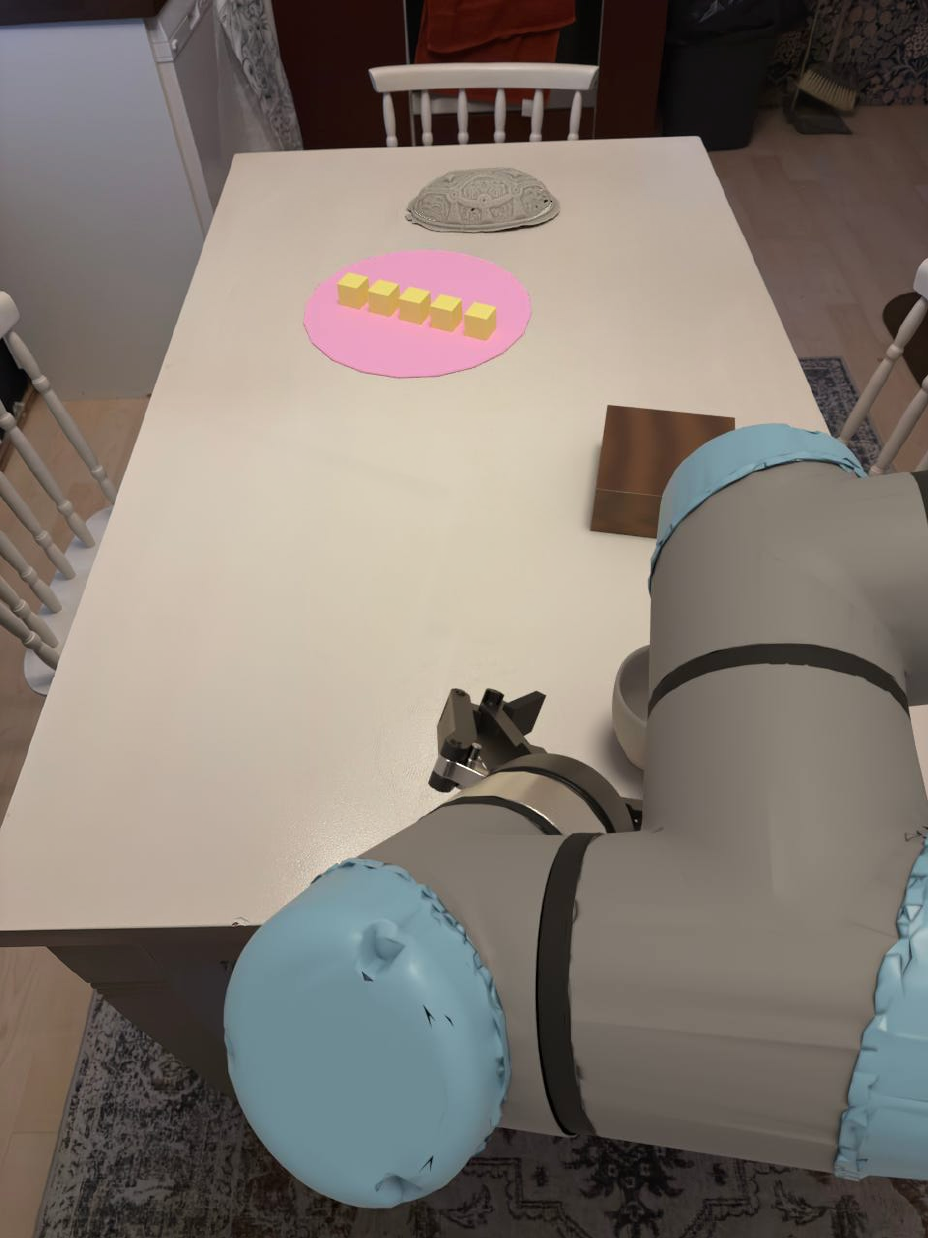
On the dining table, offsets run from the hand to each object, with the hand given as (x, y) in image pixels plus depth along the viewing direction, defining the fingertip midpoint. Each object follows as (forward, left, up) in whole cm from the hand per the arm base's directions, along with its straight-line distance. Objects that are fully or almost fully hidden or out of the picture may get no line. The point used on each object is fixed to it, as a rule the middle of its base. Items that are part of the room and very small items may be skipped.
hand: (628, 757), depth 53 cm
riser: (-3, -44, -17) cm, 47 cm away
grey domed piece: (+28, -106, -18) cm, 111 cm away
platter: (+32, -76, -18) cm, 84 cm away
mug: (-4, -10, -18) cm, 21 cm away
